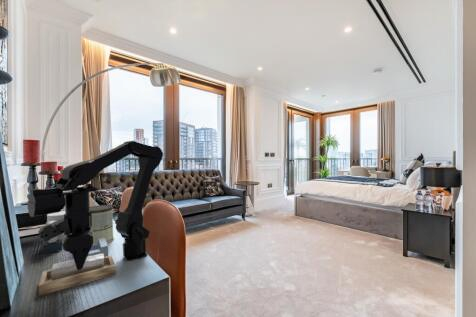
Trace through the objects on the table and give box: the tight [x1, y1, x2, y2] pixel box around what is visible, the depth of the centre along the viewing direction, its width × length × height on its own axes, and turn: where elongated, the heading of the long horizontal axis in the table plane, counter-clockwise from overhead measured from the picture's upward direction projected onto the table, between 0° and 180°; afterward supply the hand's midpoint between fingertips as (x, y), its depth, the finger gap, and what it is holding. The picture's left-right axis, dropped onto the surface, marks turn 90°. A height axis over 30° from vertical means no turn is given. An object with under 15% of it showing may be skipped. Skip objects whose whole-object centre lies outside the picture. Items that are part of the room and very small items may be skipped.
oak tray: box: [38, 254, 117, 297], centre depth 66 cm, size 17×9×3 cm, turn 125°
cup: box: [46, 210, 66, 246], centre depth 95 cm, size 8×8×12 cm
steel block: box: [51, 253, 104, 281], centre depth 66 cm, size 12×4×4 cm, turn 123°
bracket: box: [87, 237, 109, 257], centre depth 79 cm, size 8×10×4 cm
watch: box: [42, 221, 63, 255], centre depth 86 cm, size 6×8×11 cm
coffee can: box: [90, 204, 114, 244], centre depth 94 cm, size 10×10×14 cm
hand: (79, 263), depth 66 cm, fingers open, 9 cm apart
